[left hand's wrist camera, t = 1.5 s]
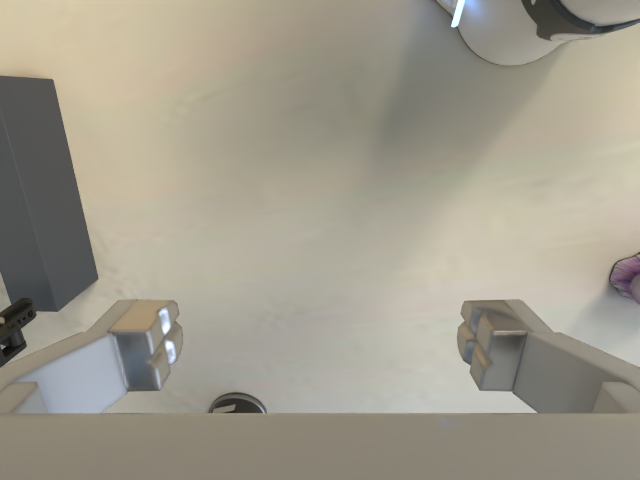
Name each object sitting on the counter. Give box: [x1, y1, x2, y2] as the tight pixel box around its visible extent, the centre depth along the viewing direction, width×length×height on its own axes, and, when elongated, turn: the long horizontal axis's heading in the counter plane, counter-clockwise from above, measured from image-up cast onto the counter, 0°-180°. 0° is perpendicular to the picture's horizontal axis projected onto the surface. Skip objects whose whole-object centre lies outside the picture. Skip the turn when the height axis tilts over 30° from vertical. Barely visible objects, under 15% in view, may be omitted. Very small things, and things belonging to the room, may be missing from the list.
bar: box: [0, 76, 98, 312], centre depth 42 cm, size 26×5×8 cm, turn 179°
